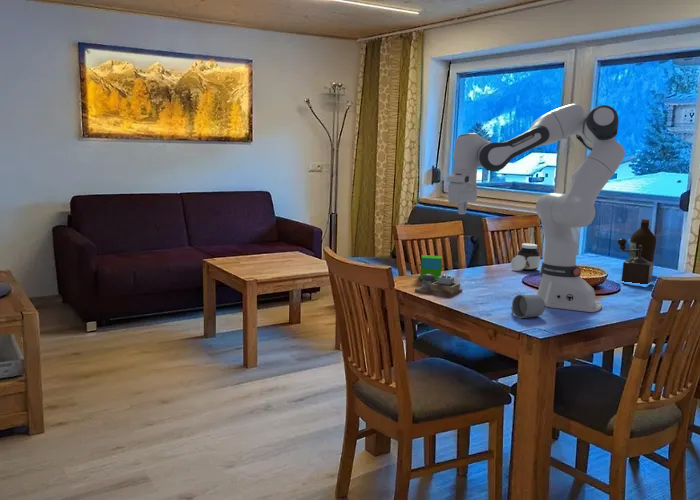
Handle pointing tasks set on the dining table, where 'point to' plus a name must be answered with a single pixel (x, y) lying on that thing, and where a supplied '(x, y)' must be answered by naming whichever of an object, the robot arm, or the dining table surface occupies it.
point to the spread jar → (526, 258)
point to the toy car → (431, 265)
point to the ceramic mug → (527, 306)
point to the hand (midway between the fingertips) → (461, 214)
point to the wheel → (428, 277)
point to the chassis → (439, 289)
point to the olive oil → (643, 242)
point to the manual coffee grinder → (636, 266)
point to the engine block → (445, 280)
